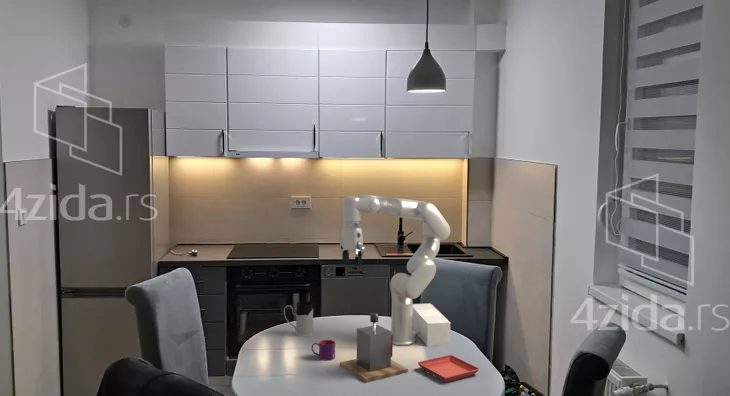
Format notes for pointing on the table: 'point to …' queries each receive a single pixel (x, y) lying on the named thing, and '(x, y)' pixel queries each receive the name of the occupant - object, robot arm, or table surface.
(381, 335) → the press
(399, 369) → the board
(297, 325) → the grey and black pitcher
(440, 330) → the white rectangular block
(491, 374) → the table surface
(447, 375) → the plant saucer
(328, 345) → the mug
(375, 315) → the plunger
